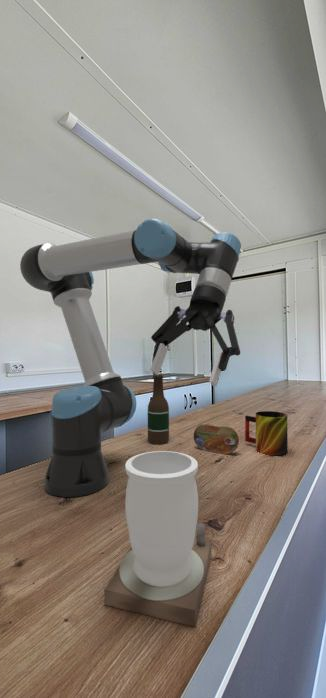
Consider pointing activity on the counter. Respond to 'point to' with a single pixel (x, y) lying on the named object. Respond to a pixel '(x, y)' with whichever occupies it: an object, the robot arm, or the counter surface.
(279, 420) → the mug
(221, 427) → the tin
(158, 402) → the beer bottle
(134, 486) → the jar
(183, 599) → the seat board
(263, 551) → the counter surface
